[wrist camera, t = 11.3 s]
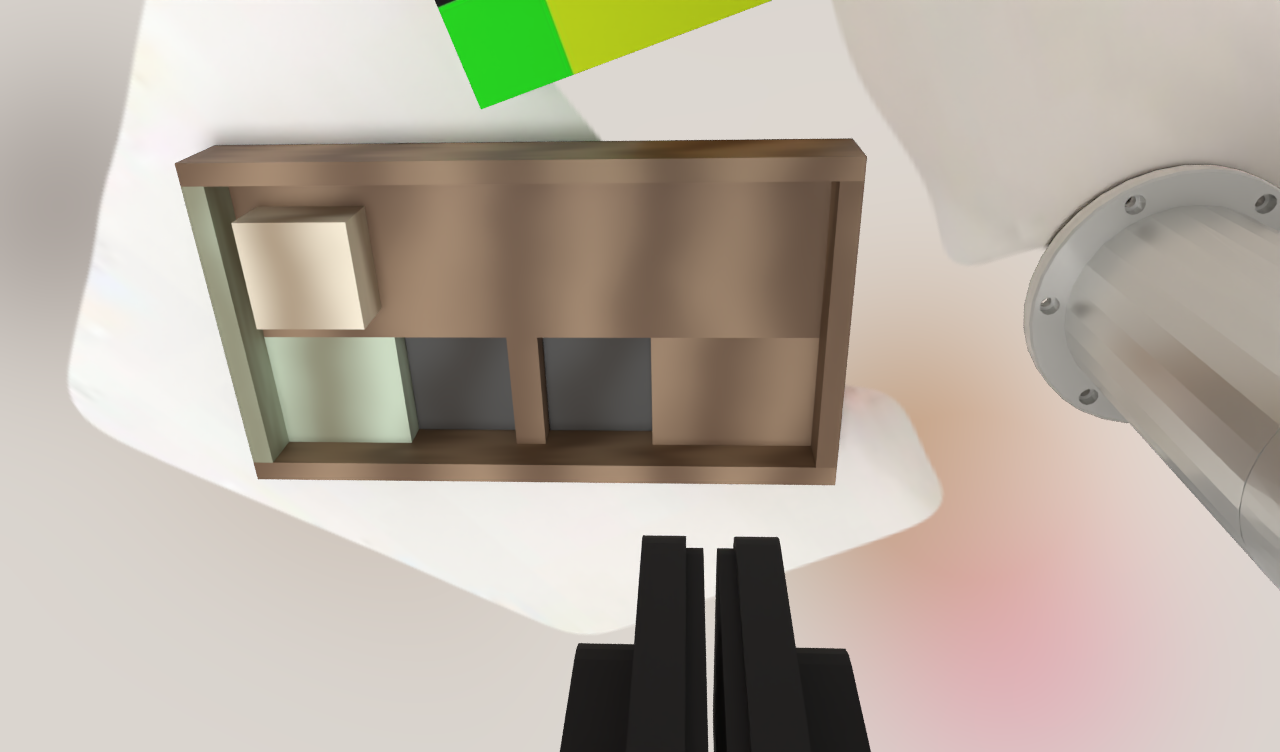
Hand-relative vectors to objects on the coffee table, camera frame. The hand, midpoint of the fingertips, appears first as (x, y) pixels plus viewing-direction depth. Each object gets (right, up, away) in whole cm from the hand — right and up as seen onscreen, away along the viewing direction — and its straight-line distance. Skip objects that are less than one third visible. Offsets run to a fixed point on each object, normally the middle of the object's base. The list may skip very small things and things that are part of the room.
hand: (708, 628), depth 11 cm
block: (-16, +9, +30) cm, 35 cm away
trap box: (-6, +7, +32) cm, 33 cm away
